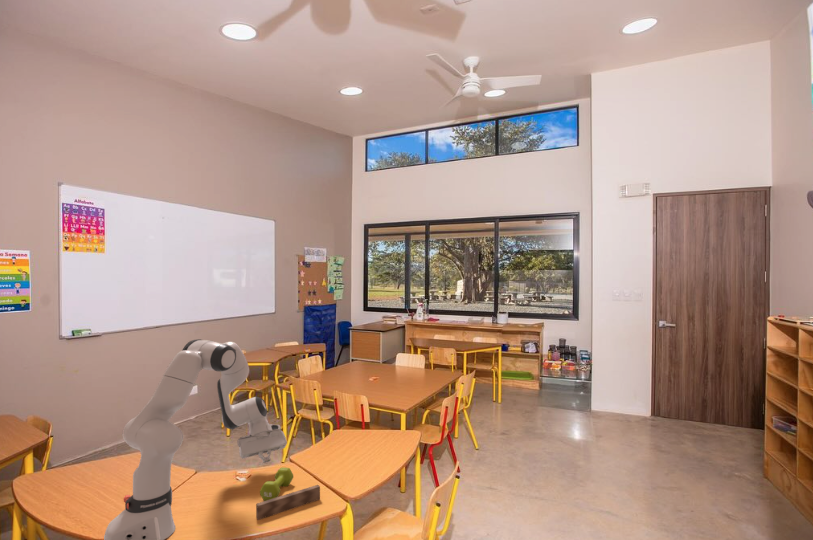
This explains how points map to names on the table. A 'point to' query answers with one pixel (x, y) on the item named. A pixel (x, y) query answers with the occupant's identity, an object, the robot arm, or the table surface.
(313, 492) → the walnut board
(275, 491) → the dumbbell
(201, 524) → the table surface
